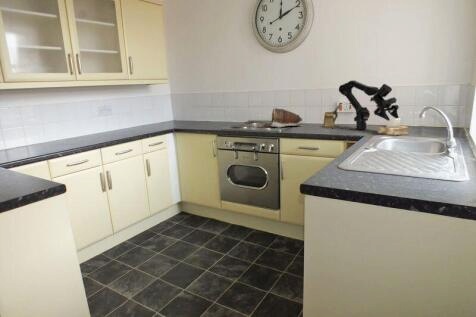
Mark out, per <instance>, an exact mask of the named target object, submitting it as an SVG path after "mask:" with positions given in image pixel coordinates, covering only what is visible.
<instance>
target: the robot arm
mask: <svg viewBox="0 0 476 317" xmlns="http://www.w3.org/2000/svg"><path fill="white" fill-rule="evenodd" d="M353 89H357V90H359V91H362V92H363V93H364V94H365V95H367V96H369V97H370V96H371V97H370V100H369V102H374V103H375V104H376V108H375V109H374V111H373V114H374V115H375V116H377V117H380V118H382V119H384V120H386V121H387V120H388V121H389V120H390V119H389V118H390V117H389V116H388V114H387V112H388V113H389V115H390V116H392V118H400V117H399V114H398V110H399V109H400V107H399V104H398V105H397V104H396V103H397V99H398V98H396V97H394V96H393V97H390V98H388V99H385V98H386V97H387V96H388V95H389V94H390V93H391V92H392V90H393V88H392V87H391V86H389V85H388V84H386V83H383V84H382V85H381V86H380V88H379V87H377V86H371V85H366V84H365V83H364V84H363V83H362V82H359V81H357V80H352V79H351V80H350V81H348V82H345V83H343V84H340V85H339V87H338V92H339V93H340V94H341V95H343V96H344V97H345V98H346V99H347V101H348V102H349V103H350V104H351V106H352V107H353V109H354V111H355V116H354V118H353V121H354V122H355V130H356V131H366V129H367V121H369V118H370V116H371V113H370V110H369V109H368V107H366V106H365V107H363V106H362V105H361V104H360V102H359V101H358V99H357V98H356V96H355V95H354V94H353ZM392 104H393V105H392Z"/></svg>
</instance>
